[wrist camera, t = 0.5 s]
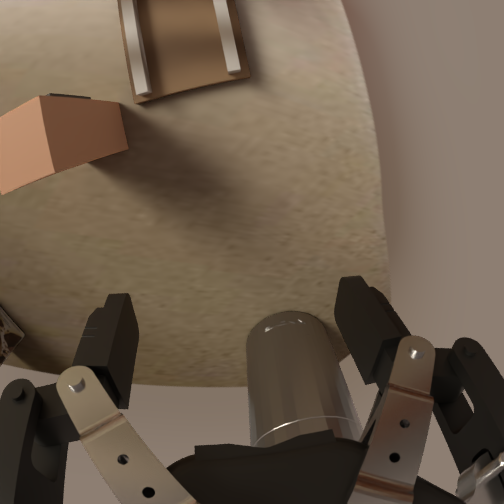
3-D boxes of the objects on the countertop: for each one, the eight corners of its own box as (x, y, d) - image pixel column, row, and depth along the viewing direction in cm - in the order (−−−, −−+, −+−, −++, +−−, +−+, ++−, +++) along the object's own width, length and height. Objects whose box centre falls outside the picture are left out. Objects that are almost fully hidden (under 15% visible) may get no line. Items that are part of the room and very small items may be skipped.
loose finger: (128, 149, 26) (54, 172, 14) (86, 162, 27) (1, 195, 15) (117, 98, 25) (38, 89, 13) (76, 114, 25) (-15, 120, 13)
